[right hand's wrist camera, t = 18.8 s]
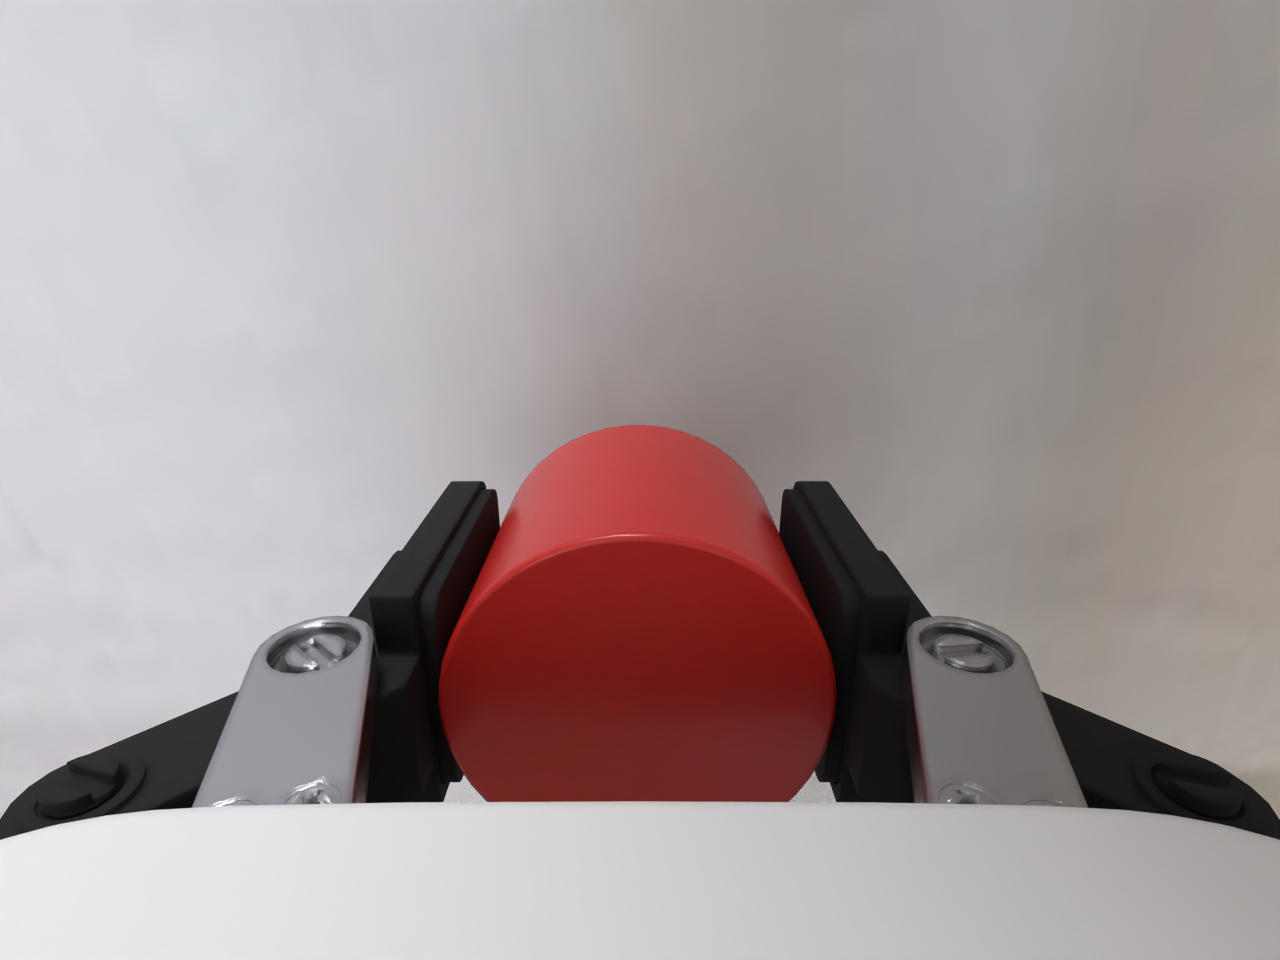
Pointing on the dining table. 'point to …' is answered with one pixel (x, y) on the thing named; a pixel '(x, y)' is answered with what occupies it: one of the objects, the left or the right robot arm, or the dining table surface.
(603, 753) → the canister
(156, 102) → the dining table surface
